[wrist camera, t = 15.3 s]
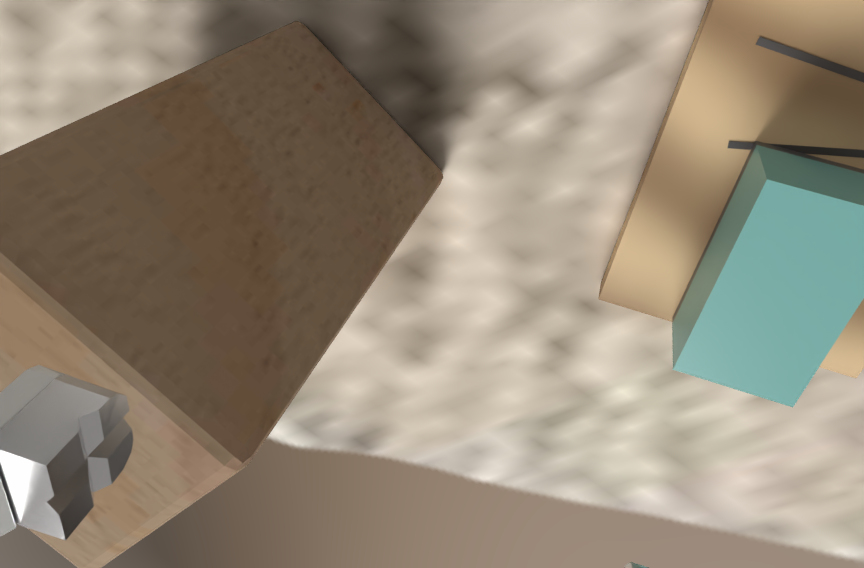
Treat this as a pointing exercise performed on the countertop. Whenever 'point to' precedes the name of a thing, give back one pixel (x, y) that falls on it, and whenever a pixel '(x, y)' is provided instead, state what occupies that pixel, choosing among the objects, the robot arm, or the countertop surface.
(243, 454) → the wooden block
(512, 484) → the countertop surface
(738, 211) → the block
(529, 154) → the countertop surface
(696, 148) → the oak board
